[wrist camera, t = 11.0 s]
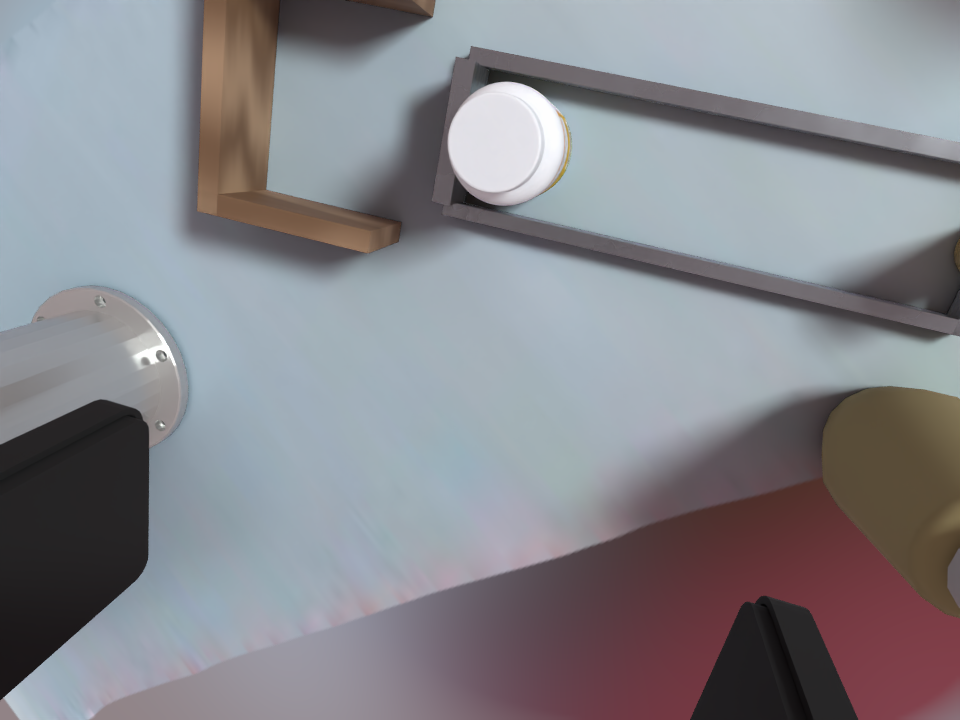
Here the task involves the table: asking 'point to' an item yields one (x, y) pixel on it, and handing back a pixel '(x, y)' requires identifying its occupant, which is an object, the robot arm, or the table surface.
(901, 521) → the squeeze bottle
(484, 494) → the table surface
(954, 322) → the gray rectangular frame
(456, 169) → the supplement bottle
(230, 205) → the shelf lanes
